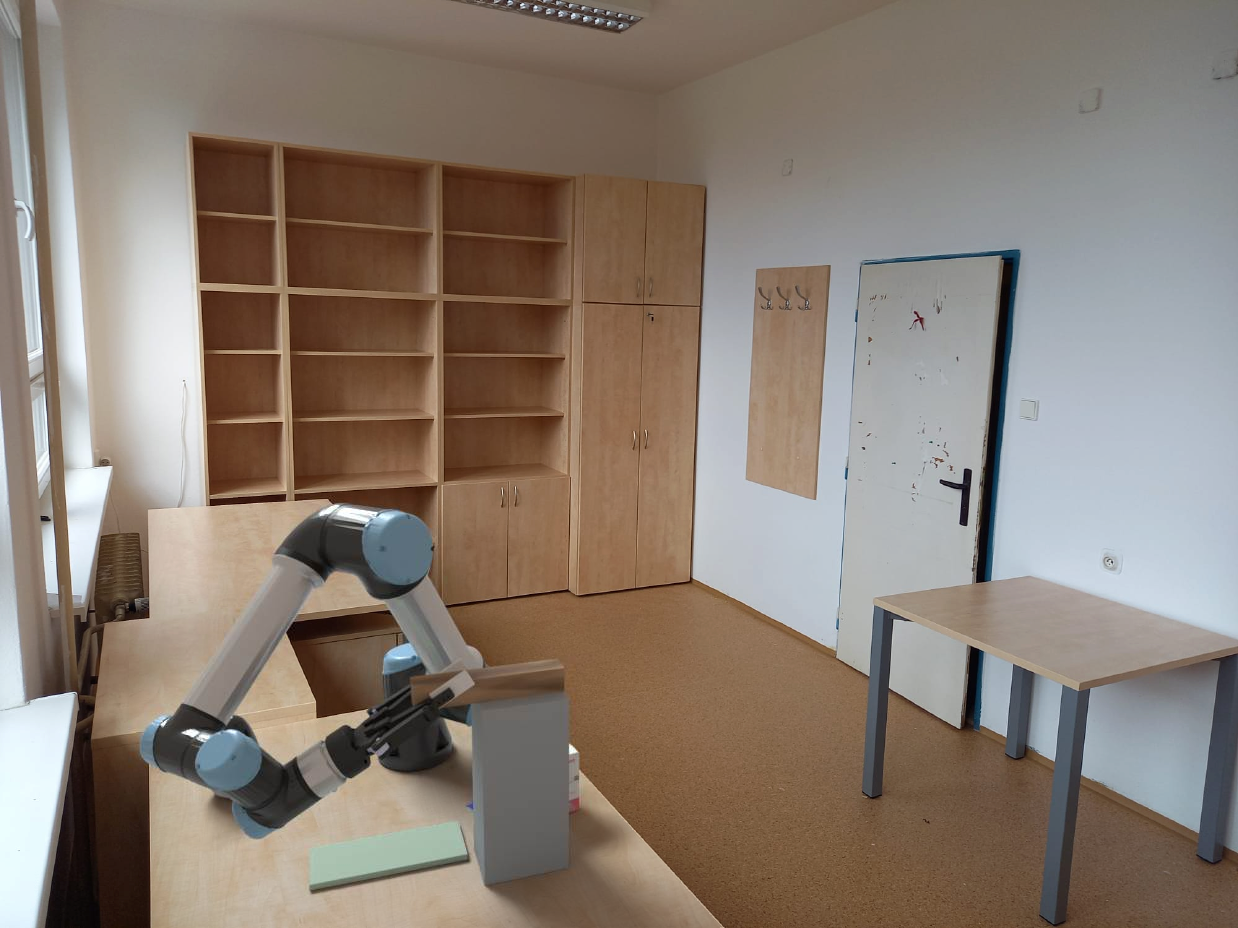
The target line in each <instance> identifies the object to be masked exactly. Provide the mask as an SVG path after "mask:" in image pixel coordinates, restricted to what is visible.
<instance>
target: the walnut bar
mask: <svg viewBox="0 0 1238 928" xmlns="http://www.w3.org/2000/svg"><path fill="white" fill-rule="evenodd" d="M462 671H464V670H462ZM462 671H454V672H446V673H438V674H430V675H422V676H414V677H410V682H411V702H412V707H413V706H415V705H416V704H418V703H420V702H422V701H424V700H425V699H427V698H430V699H432V698H431V697H430V695H429V694H430V693H431V692H433V691H434V690H436V689H437V688H438V687H440V686H441V685H443V684H444V683H446V682H447V681H449V680H450V679H452V678H453V677H455V676H456V675H458V674H459V673H461V672H462ZM466 671H467V673H468V674H469V675H470V677H471V678H472V680H473V681H474V683H475V685H473V686H472V687H470V688H469V689H467V690H466V691H465V692H463V693H462V694H460V695H459V696H457V697H456V698H454V699H453V700H451V701H450V702H448V703H447V704H445V705H444V706H442V707H441V708H445V707H453V706H460V705H467V704H475V703H482V702H489V701H496V700H504V699H511V698H518V697H525V696H533V695H540V694H547V693H554V692H562V691H565V667H564V665H563V664H562V663H561V661H560V660H559V658H553V659H552V658H551V659H542V660H535V661H528V662H519V663H510V664H505V665H503V664H502V665H496V666H489V667H486V668H478V669H470V670H466Z"/></svg>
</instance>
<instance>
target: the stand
mask: <svg viewBox="0 0 1238 928" xmlns="http://www.w3.org/2000/svg"><path fill="white" fill-rule="evenodd" d="M471 709H472V726H471V749H472V750H471V751H472V753H471V756H472V759H471V760H472V763H471V764H472V802H473V813H472V814H473V815H472V816H473V818H472V819H473V820H472V821H473V850H474V851H473V852H474V854H475V858H476V860H477V865H478V867H479V871H480V875H481V877H482V880H483V885H484V886H490V885H493V884H499V883H503V882H509V881H514V880H518V879H523V878H528V877H531V876H537V875H542V874H547V873H551V872H556V871H562V870H566V869H569V865H570V864H569V863H570V860H569V859H570V858H569V855H570V850H569V849H570V848H569V847H570V845H569V844H570V842H569V841H570V839H569V837H570V833H569V832H570V820H569V819H570V812H569V743H570V697H569V696H568V694H567V693H566V690H564V691H562V692H554V693H547V694H540V695H533V696H525V697H518V698H511V699H504V700H496V701H489V702H482V703H475V704H471Z"/></svg>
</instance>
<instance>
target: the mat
mask: <svg viewBox="0 0 1238 928" xmlns="http://www.w3.org/2000/svg"><path fill="white" fill-rule="evenodd" d="M468 854H469V853H468V851H467V847H466V843H465V840H464V836H463V833H462V830H461V826H460V822H459V820H455V821H451V822H450V821H448V822H444V823H438V824H433V825H427V826H423V827H417V828H411V829H406V830H399V831H394V832H390V833H384V834H378V835H372V836H368V837H362V838H356V839H350V840H344V841H339V842H334V843H329V844H324V845H317V846H313V847H309V869H308V870H309V871H308V872H309V875H308V876H309V877H308V878H309V883H308V884H309V885H308V886H309V891H316V890H319V889H325V888H330V887H334V886H340V885H345V884H349V883H355V882H361V881H364V880H365V881H366V880H369V879H370V880H371V879H377V878H380V877H381V878H382V877H385V876H390V875H395V874H399V873H405V872H406V873H407V872H411V871H416V870H421V869H426V868H431V867H437V866H441V865H446V864H450V863H451V864H452V863H456V862H461V861H466V860H468V858H469V857H468Z"/></svg>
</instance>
